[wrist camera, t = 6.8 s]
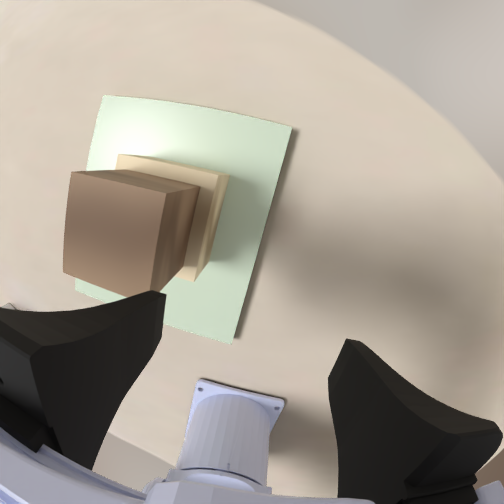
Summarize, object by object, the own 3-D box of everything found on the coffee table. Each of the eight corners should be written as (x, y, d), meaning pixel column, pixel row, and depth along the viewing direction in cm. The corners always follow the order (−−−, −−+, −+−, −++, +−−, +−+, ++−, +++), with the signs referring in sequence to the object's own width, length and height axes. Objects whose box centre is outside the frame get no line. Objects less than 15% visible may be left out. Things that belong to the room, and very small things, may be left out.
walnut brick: (183, 266, 16) (147, 304, 11) (113, 245, 16) (62, 272, 11) (200, 186, 15) (166, 193, 10) (125, 169, 15) (71, 171, 10)
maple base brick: (209, 261, 20) (193, 282, 16) (131, 238, 20) (102, 253, 16) (230, 174, 18) (218, 175, 15) (146, 155, 19) (118, 153, 15)
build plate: (233, 337, 23) (231, 344, 22) (81, 286, 23) (75, 290, 22) (291, 129, 18) (292, 127, 17) (110, 97, 18) (103, 95, 17)
